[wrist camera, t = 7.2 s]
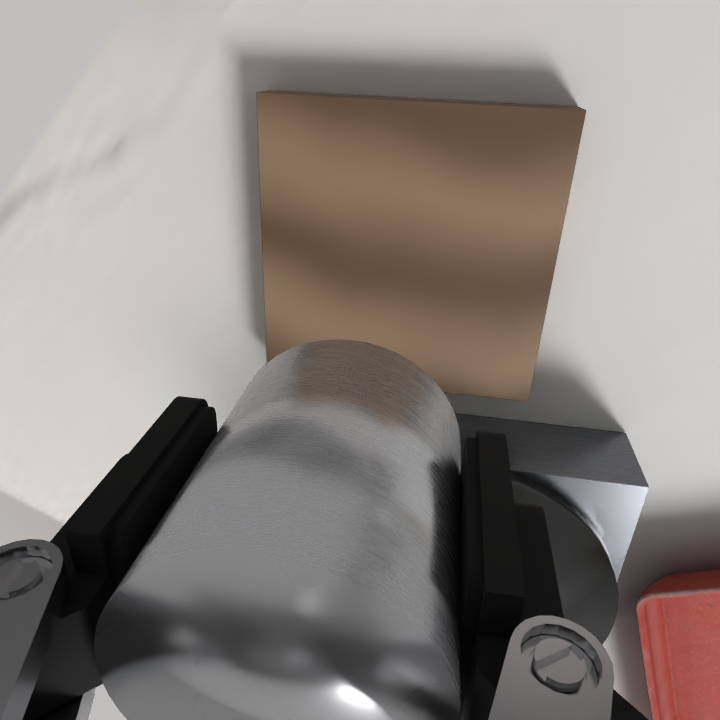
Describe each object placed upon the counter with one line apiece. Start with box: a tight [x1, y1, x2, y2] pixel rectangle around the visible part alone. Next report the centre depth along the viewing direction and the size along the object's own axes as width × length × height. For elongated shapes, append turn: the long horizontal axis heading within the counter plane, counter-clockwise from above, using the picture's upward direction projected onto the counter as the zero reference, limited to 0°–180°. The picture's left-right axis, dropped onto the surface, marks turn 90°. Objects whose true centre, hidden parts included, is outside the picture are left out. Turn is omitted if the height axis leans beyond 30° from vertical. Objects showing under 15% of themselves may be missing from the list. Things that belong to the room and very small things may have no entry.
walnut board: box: [256, 90, 586, 401], centre depth 25 cm, size 12×12×2 cm
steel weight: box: [94, 339, 461, 720], centre depth 11 cm, size 5×5×6 cm
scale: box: [455, 414, 649, 644], centre depth 30 cm, size 14×15×6 cm
